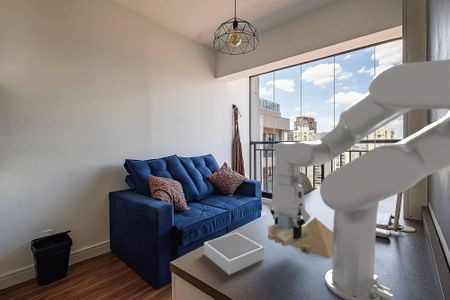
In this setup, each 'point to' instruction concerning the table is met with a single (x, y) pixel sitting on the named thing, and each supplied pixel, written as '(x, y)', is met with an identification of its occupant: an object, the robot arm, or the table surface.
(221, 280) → the table surface
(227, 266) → the white square tray
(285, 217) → the light blue block
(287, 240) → the pallet
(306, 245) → the model pyramid
